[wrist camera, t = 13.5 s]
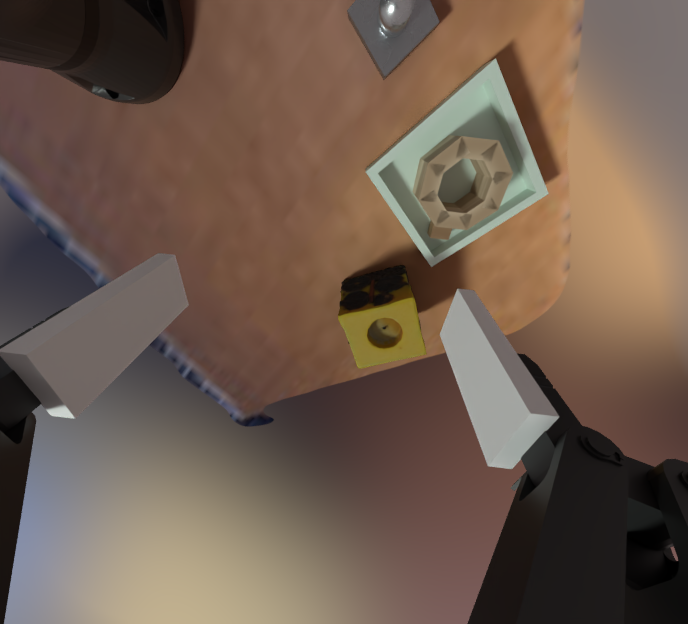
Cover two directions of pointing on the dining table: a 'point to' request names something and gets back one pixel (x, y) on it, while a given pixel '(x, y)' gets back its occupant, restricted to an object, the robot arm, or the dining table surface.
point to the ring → (484, 190)
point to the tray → (459, 120)
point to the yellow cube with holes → (381, 317)
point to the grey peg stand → (392, 28)
